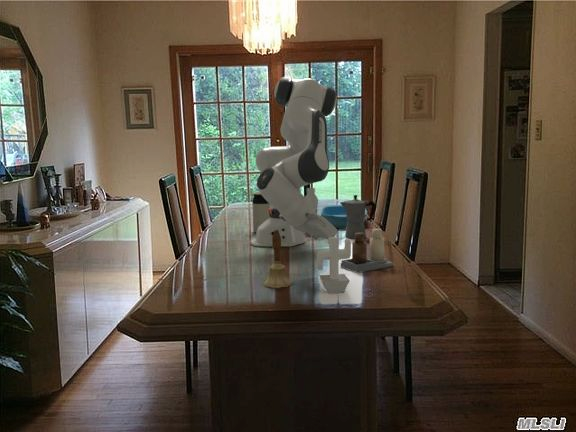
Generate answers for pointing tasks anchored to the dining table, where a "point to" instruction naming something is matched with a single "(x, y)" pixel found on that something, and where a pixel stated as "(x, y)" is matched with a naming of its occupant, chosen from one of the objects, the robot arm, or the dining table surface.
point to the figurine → (334, 265)
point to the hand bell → (277, 266)
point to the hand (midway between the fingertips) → (326, 240)
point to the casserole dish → (336, 215)
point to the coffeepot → (356, 216)
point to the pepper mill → (359, 249)
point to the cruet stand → (371, 255)
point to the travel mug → (259, 210)
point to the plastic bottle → (312, 198)
